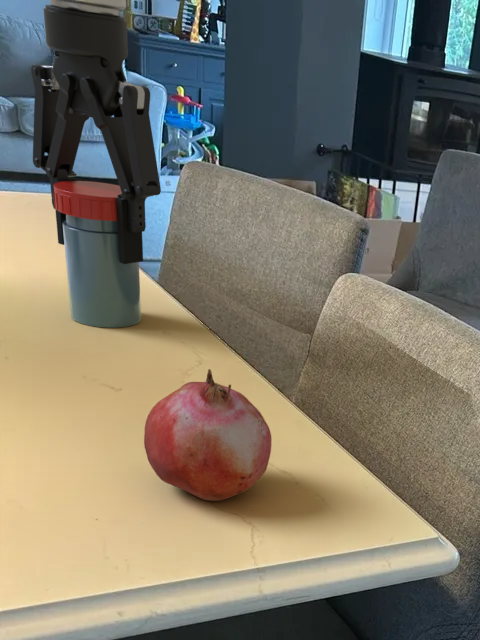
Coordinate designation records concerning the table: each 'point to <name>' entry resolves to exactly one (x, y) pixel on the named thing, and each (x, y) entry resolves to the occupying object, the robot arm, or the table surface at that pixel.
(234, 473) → the fruit
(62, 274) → the table surface
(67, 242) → the jar
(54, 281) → the table surface
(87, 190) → the lid
